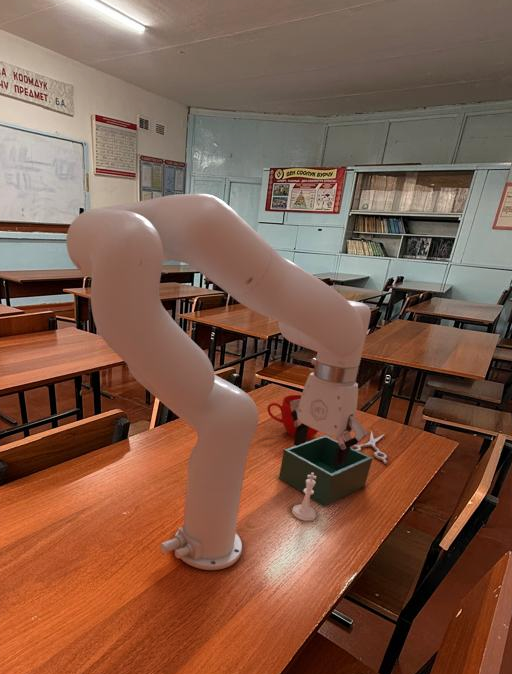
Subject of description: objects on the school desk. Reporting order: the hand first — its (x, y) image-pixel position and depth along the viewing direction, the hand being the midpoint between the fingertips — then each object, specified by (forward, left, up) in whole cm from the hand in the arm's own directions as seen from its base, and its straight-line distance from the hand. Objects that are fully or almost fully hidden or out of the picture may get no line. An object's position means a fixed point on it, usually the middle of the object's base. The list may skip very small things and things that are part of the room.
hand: (318, 453), depth 87 cm
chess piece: (0, 0, -15) cm, 15 cm away
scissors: (+44, +11, -14) cm, 47 cm away
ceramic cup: (+29, +28, -15) cm, 43 cm away
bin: (+14, +6, -14) cm, 21 cm away
